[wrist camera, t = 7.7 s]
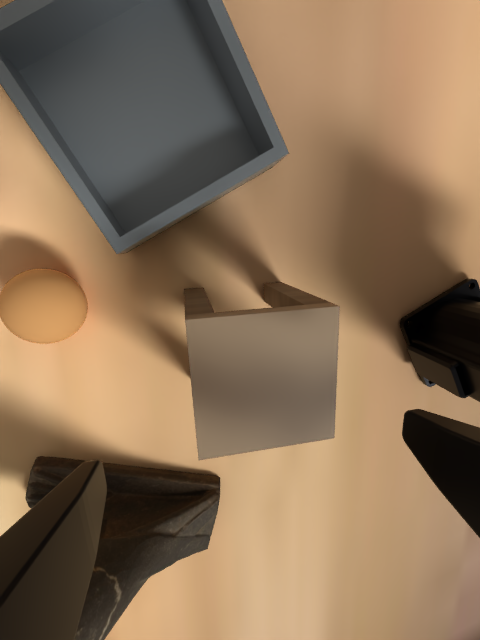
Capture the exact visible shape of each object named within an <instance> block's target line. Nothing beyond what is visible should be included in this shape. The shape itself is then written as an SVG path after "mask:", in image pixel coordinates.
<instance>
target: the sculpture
mask: <svg viewBox="0 0 480 640" xmlns="http://www.w3.org/2000/svg"><path fill="white" fill-rule="evenodd" d="M83 462H85V461H83V460H74V459H66V458H56V457H45V456H39V457H37V459H36V460H35V462H34V465H33V467H32V469H31V473H30V479H29V482H28V487H27V492H26V501H27V503H28V506H29V507H30V508H33V507H34V506H35V505H36V504H37V503H38V502H39V501H41V500H42V499H43V498H44V497H45V496H46V495H47V494H48V493H49V492H51V491H52V490H53V489H54V488H55V487H56V486H57V485H58V484H60V483H61V482H62V481H63V480H64V479H65V478H66V477H67V476H68V475H70V474H71V473H72V472H73V471H74V470H75V469H76V468H77V467H78V466H80V465H81V464H82V463H83ZM102 464H103V469H104V474H105V479H106V485H107V494H106V501H105V507H104V513H103V519H102V525H101V531H100V537H99V543H98V549H97V555H96V560H95V564H94V568H93V572H92V575H91V579H90V583H89V587H88V590H87V594H86V598H85V601H84V605H83V609H82V613H81V616H80V620H79V624H78V627H77V631H76V635H75V638H74V640H104V639H105V638H106V636H107V635H108V634H109V632H110V631H111V629H112V628H113V626H114V625H115V623H116V622H117V621H118V619H119V618H120V616H121V615H122V613H123V612H124V611H125V609H126V608H127V606H128V605H129V603H130V602H131V600H132V599H133V598H134V596H135V595H136V594H137V592H138V591H139V590H140V588H141V587H142V586H143V584H144V583H145V582H146V581H147V579H148V578H149V577H150V576H152V575H154V574H156V573H158V572H160V571H161V570H163V569H165V568H166V567H168V566H171V565H172V564H174V563H175V562H176V561H178V560H180V559H182V558H185V557H188V556H190V555H192V554H194V553H197V552H200V551H203V550H206V549H208V545H209V541H210V536H211V534H212V530H213V526H214V523H215V518H216V515H217V511H218V505H219V498H220V477H218V476H212V475H204V474H196V473H187V472H178V471H170V470H161V469H151V468H143V467H135V466H126V465H117V464H109V463H102Z"/></svg>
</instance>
